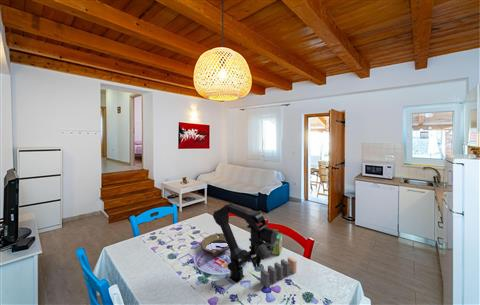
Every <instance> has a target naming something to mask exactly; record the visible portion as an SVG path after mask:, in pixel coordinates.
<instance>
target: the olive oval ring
mask: <svg viewBox="0 0 480 305" xmlns="http://www.w3.org/2000/svg"><path fill="white" fill-rule="evenodd" d="M211 243H227V242H226V239H225V237H224V234H223V232H220V233H217V232H216V233H215V234H213V233H212V234H210V235H208V236H206V237H204V238H203V239H202V240H201V243H200V247H201V249H202V251H204V252H206V253H209V254H212V256H214V257H217V256H218V255H219V254H221V253H224V252H226V251H228V250H230V249H229V247H228V246H227V247H225V248H222V249H219V250H217V249H218V248H217V249H212V250H209V249H206V246H207V245H209V244H211Z"/></svg>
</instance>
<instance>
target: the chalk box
mask: <svg viewBox="0 0 480 305" xmlns="http://www.w3.org/2000/svg"><path fill="white" fill-rule="evenodd" d="M273 229H274V230H275V232H276V234H277V239H276V242H275V243H274V244H272V245H273V247H274V250H273V251H272V254H271V255H274V256H278V257H279V256H280V255H281V253H282V250H283V233H281V232H279V229H275V228H273Z"/></svg>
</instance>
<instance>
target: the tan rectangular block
mask: <svg viewBox="0 0 480 305" xmlns="http://www.w3.org/2000/svg"><path fill="white" fill-rule="evenodd" d="M287 262H288V263H290V272H291V273H293V274H296V273H297V260H295V259H294V258H293V257H291V256H288V257H287Z"/></svg>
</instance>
